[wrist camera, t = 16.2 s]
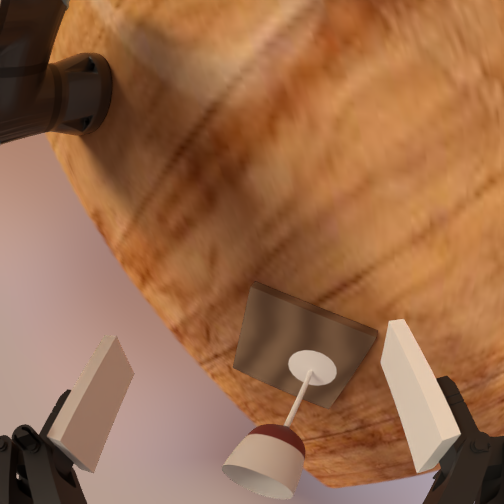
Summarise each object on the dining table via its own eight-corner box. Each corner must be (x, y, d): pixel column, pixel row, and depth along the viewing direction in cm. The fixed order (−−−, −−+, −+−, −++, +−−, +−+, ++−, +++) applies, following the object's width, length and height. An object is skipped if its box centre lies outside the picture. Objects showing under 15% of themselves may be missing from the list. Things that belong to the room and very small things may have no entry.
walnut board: (236, 362, 50) (232, 367, 49) (255, 281, 41) (250, 286, 40) (330, 402, 45) (328, 409, 44) (377, 330, 36) (376, 337, 35)
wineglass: (304, 338, 40) (240, 460, 24) (350, 372, 39) (307, 496, 23) (275, 364, 44) (211, 468, 28) (317, 394, 44) (269, 501, 27)
